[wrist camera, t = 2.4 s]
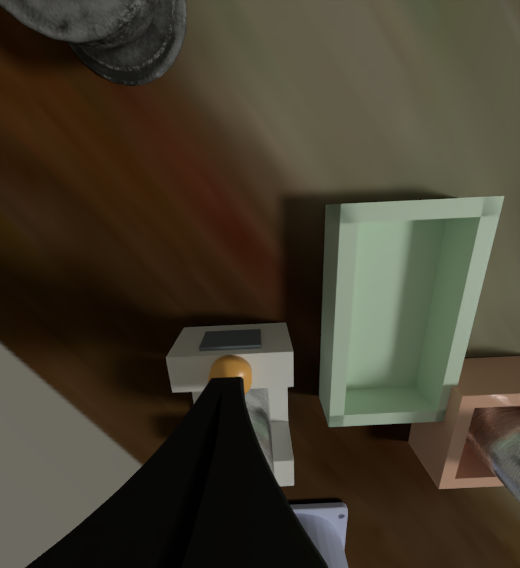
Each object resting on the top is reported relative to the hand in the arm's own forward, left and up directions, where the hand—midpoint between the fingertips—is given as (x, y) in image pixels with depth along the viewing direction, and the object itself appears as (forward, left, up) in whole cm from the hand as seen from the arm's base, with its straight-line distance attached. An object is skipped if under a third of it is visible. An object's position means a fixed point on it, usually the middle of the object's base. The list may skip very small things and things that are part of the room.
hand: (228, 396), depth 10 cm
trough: (+2, -8, -5) cm, 10 cm away
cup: (-5, -15, -5) cm, 17 cm away
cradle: (-3, 0, -5) cm, 6 cm away
